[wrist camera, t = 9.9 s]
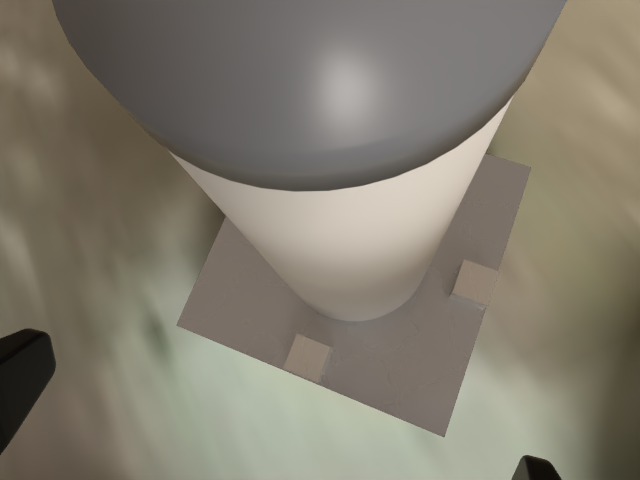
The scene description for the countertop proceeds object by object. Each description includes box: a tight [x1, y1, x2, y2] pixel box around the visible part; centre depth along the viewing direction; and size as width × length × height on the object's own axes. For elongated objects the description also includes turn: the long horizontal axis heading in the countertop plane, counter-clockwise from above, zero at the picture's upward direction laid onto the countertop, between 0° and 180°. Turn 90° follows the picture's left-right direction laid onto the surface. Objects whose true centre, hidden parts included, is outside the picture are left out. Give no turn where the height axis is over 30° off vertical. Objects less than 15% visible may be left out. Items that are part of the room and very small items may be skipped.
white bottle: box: [52, 0, 567, 321], centre depth 11 cm, size 6×6×16 cm
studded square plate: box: [177, 153, 531, 437], centre depth 20 cm, size 13×10×5 cm
